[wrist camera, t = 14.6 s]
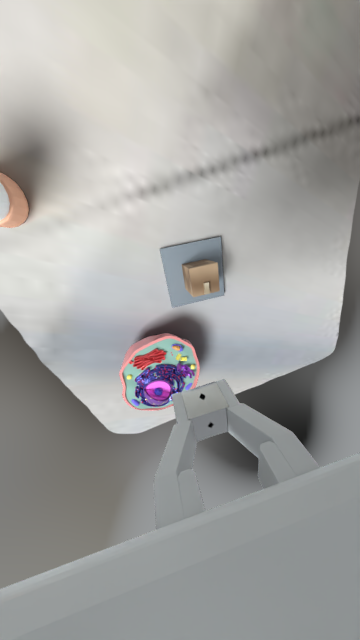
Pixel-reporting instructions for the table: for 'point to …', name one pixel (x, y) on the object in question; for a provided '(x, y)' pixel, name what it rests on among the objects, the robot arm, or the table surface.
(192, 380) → the cell model
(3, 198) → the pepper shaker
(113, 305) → the table surface
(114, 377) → the table surface
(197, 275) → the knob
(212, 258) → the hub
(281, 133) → the table surface
